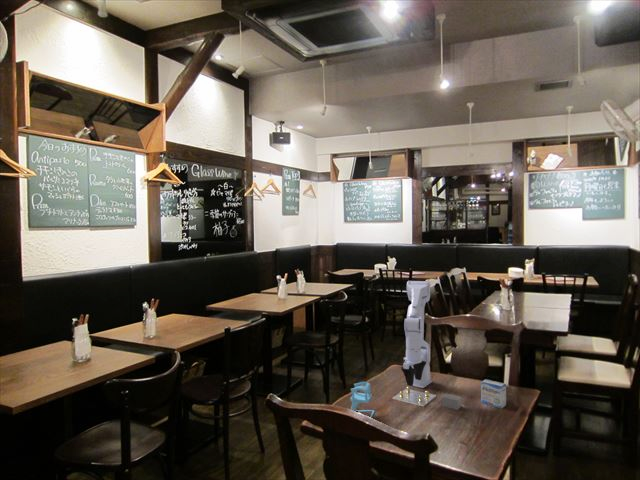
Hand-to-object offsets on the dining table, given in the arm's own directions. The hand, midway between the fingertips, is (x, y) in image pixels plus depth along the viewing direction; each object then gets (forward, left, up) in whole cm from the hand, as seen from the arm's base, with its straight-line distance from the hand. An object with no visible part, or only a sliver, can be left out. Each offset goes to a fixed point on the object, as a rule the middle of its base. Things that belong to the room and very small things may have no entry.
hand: (414, 382), depth 172 cm
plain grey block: (0, +15, -7) cm, 17 cm away
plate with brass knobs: (0, 0, -7) cm, 7 cm away
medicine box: (-11, +27, -7) cm, 30 cm away
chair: (+25, -9, -7) cm, 27 cm away
